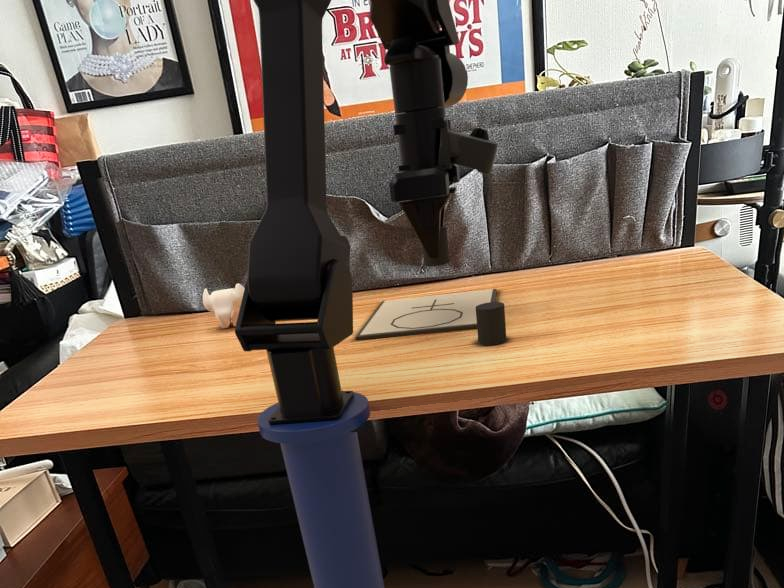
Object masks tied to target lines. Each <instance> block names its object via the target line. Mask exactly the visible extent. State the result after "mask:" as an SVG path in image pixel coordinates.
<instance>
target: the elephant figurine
mask: <svg viewBox="0 0 784 588" xmlns="http://www.w3.org/2000/svg"><path fill="white" fill-rule="evenodd" d="M244 289H245V286H243V284H241V283H236V284H235V286H234V287H232V288H225V289H218V290H213V291H212V292H211V293H210V294H209V291H208V288H207V287H206V288H204V290H203V292H202V305H203V308H204V309H206V310H207V311H209V312H211V313H214V316H215V318H216V320H218V322H219V325H220V327H221V328H222V329H228V328H230V327H231V326H230V325H232V326H233V327H234V328H235V327H236V323H237V318H238V314H239V310H240V306H241V302H242V298H243V294H244Z"/></svg>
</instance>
